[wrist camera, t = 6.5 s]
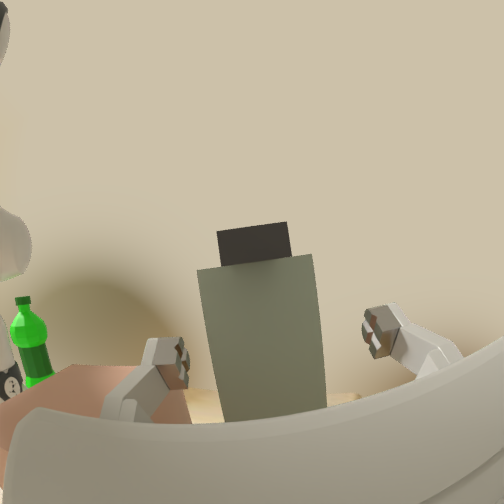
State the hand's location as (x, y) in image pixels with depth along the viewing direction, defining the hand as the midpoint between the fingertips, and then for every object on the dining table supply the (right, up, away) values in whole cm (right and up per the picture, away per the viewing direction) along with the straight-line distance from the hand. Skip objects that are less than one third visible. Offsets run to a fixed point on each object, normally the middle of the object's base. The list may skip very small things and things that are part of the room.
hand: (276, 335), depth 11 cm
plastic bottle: (-51, -32, +33) cm, 69 cm away
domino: (-1, +3, +15) cm, 15 cm away
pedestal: (+3, -23, +18) cm, 30 cm away
